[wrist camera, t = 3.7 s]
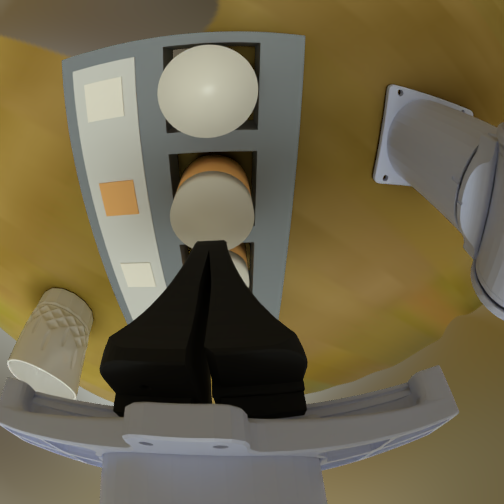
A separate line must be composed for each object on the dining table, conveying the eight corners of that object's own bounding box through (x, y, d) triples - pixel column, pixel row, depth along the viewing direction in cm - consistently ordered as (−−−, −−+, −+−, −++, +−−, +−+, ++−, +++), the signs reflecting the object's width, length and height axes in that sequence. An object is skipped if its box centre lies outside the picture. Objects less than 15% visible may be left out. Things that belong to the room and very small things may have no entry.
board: (293, 40, 14) (306, 35, 12) (271, 320, 30) (275, 344, 27) (83, 58, 13) (60, 60, 11) (142, 323, 29) (137, 347, 26)
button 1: (251, 49, 13) (259, 44, 10) (250, 120, 15) (256, 137, 12) (172, 53, 12) (155, 49, 9) (174, 123, 15) (160, 141, 12)
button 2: (249, 153, 17) (255, 178, 14) (248, 215, 19) (253, 251, 16) (177, 156, 16) (165, 182, 13) (183, 218, 19) (175, 254, 16)
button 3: (245, 226, 22) (249, 258, 19) (245, 269, 25) (248, 303, 22) (189, 228, 22) (183, 260, 19) (194, 271, 25) (191, 305, 21)
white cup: (31, 301, 26) (1, 369, 18) (54, 271, 24) (15, 351, 16) (80, 337, 30) (60, 405, 22) (110, 315, 28) (89, 396, 20)
